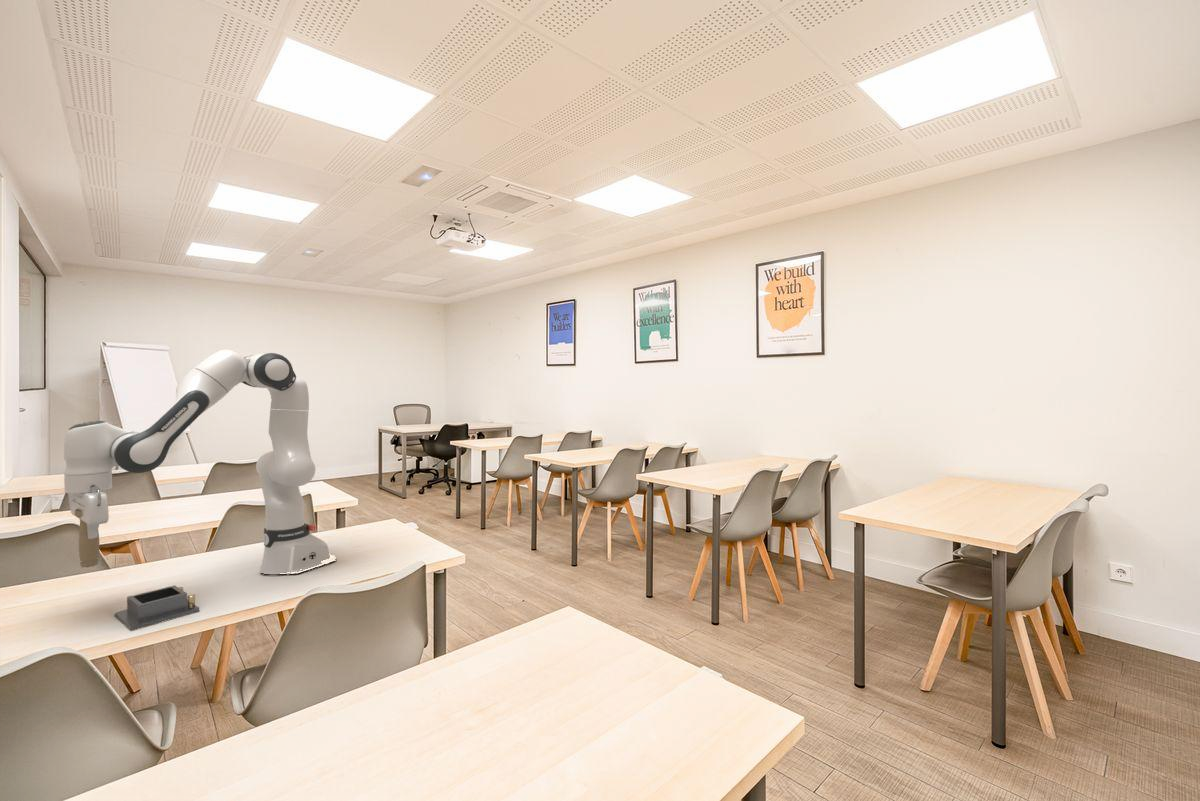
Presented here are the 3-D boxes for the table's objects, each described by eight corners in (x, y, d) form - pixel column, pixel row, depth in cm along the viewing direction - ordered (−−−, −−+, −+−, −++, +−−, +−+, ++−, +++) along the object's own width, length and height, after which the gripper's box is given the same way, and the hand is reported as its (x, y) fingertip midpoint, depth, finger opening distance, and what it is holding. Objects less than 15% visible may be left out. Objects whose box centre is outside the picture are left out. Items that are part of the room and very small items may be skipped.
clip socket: (180, 598, 146) (180, 581, 146) (199, 611, 138) (199, 592, 138) (114, 616, 135) (114, 597, 135) (130, 630, 127) (130, 610, 127)
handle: (78, 571, 131) (77, 512, 131) (74, 565, 135) (73, 508, 135) (104, 566, 135) (103, 509, 134) (99, 560, 139) (98, 505, 138)
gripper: (116, 486, 131) (117, 540, 132) (95, 478, 143) (96, 527, 143) (81, 490, 126) (82, 546, 126) (62, 481, 138) (63, 532, 138)
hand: (89, 536), depth 135 cm, fingers closed on handle, 4 cm apart
